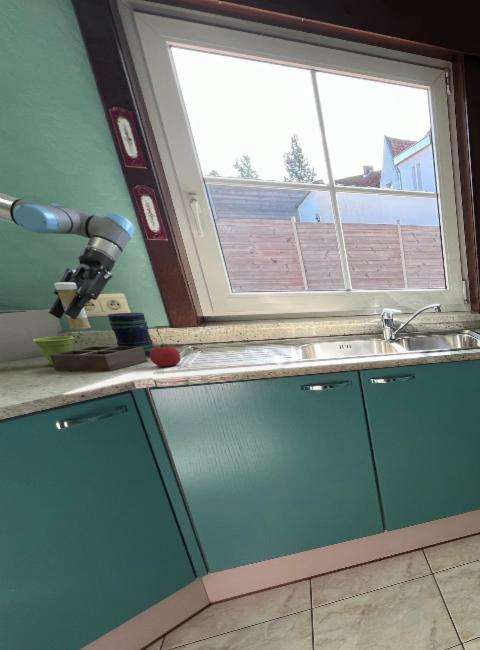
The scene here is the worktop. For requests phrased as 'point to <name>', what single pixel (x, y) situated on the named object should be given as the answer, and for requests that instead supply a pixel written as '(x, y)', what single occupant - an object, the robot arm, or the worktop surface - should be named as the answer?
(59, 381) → the worktop surface
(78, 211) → the robot arm
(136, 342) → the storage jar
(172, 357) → the tomato
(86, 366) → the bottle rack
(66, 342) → the plant pot
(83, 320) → the sprinkles bottle
